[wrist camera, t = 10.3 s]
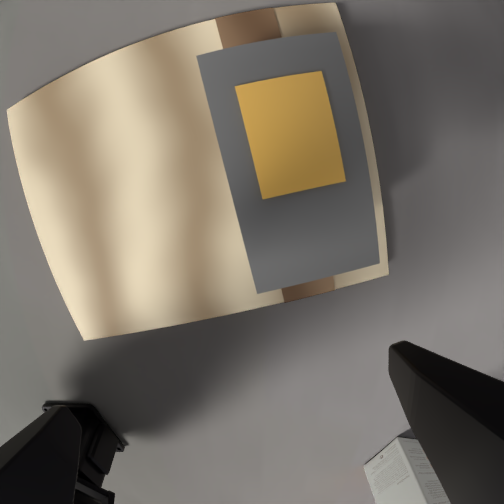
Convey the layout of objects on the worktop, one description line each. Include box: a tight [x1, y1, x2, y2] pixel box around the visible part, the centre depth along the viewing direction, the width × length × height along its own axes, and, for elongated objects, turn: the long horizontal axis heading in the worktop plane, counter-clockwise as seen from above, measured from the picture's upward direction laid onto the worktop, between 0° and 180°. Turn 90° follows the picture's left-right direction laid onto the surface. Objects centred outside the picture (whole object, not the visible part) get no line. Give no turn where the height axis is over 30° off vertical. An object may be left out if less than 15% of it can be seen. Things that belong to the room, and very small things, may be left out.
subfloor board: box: [7, 3, 389, 341], centre depth 16 cm, size 20×16×1 cm
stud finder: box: [196, 32, 380, 294], centre depth 13 cm, size 5×9×5 cm, turn 13°
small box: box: [364, 437, 451, 504], centre depth 22 cm, size 8×6×10 cm
